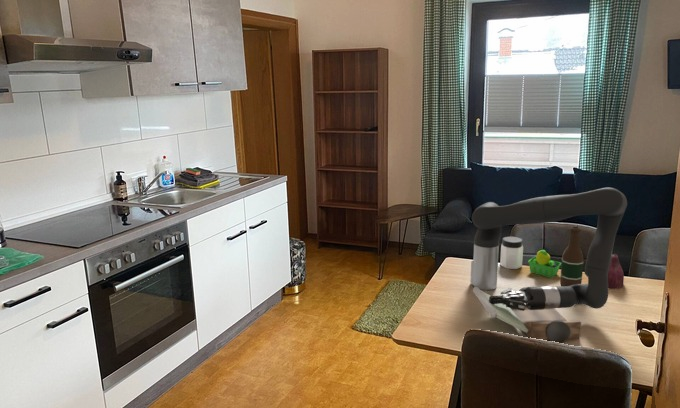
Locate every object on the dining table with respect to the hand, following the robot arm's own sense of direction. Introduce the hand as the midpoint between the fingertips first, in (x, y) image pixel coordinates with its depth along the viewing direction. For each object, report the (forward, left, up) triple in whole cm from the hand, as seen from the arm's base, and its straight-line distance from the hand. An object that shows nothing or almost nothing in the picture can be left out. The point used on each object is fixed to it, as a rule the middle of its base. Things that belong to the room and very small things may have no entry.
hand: (490, 300), depth 165 cm
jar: (-27, +51, -9) cm, 59 cm away
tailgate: (+5, +7, -7) cm, 11 cm away
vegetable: (+9, +63, -9) cm, 65 cm away
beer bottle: (+1, +49, -9) cm, 50 cm away
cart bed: (+10, +14, -9) cm, 20 cm away
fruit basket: (-13, +53, -9) cm, 56 cm away
